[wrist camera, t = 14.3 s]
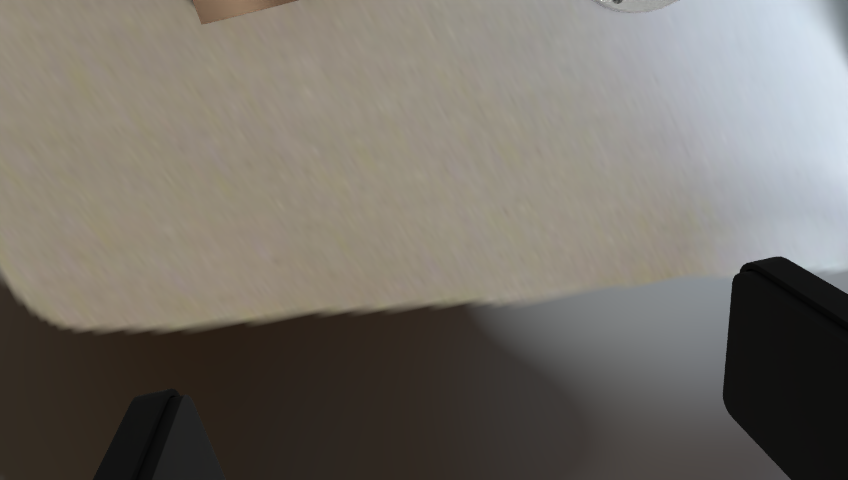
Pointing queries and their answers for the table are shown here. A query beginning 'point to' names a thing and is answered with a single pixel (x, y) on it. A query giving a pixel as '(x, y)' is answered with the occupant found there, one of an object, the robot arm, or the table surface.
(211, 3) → the walnut base plate
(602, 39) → the table surface
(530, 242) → the table surface
